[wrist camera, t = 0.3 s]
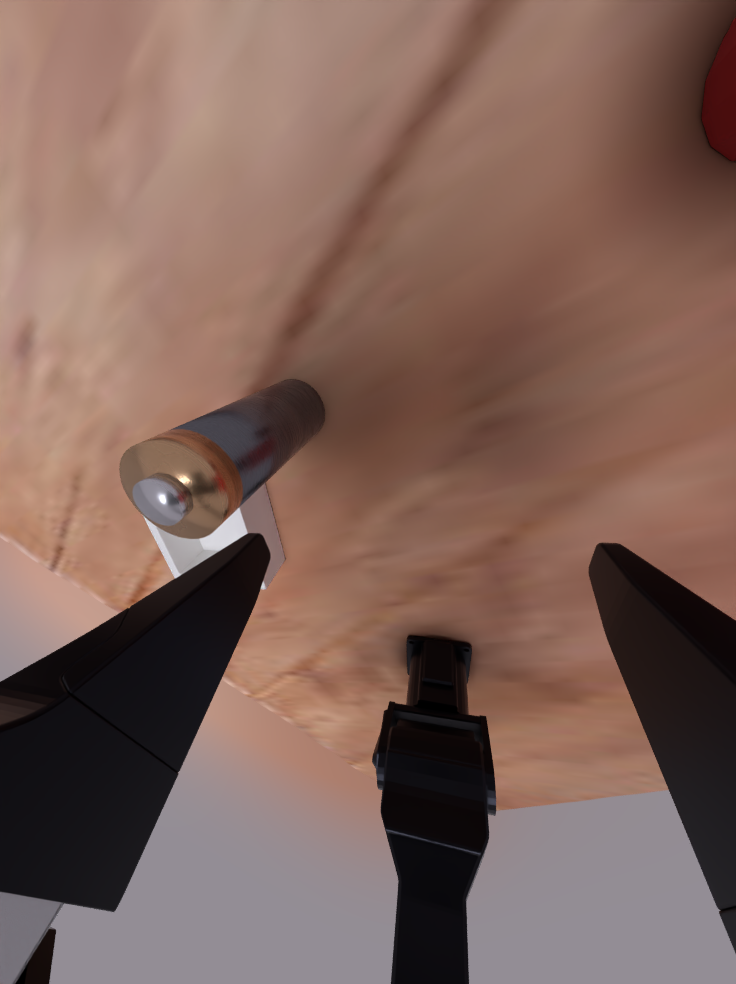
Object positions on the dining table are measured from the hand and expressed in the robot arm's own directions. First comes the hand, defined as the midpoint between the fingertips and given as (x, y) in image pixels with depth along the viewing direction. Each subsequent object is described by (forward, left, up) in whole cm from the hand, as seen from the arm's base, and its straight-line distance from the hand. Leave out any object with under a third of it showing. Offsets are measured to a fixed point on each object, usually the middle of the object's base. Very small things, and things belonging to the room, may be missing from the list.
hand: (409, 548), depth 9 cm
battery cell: (0, +10, -15) cm, 18 cm away
